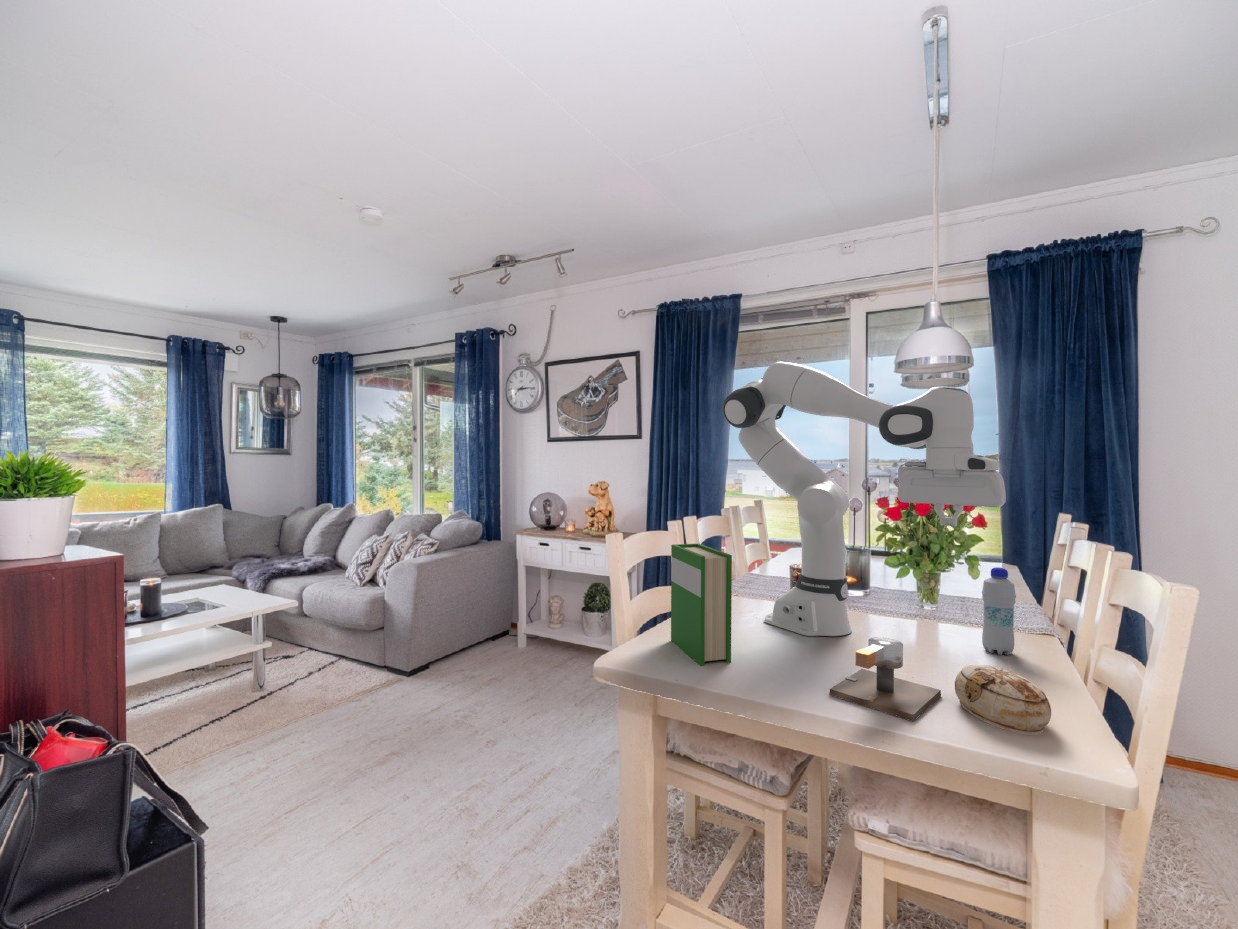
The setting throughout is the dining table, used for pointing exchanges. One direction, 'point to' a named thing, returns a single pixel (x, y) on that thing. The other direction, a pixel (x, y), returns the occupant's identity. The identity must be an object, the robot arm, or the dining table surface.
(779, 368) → the robot arm
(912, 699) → the base
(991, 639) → the bottle
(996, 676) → the trinket box
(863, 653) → the lever handle
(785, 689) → the dining table surface
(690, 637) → the hardback book
